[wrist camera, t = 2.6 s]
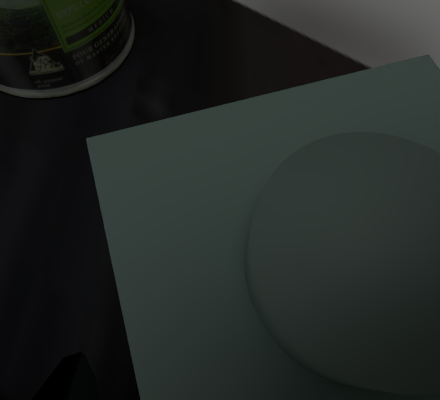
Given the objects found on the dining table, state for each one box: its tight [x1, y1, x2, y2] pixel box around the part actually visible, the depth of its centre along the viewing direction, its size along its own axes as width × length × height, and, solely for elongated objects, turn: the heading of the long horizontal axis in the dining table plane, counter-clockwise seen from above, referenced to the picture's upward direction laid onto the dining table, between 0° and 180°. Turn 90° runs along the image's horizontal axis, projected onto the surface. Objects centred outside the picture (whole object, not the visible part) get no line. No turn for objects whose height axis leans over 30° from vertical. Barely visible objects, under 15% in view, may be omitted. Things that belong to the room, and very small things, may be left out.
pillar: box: [86, 55, 440, 400], centre depth 10 cm, size 5×5×14 cm
